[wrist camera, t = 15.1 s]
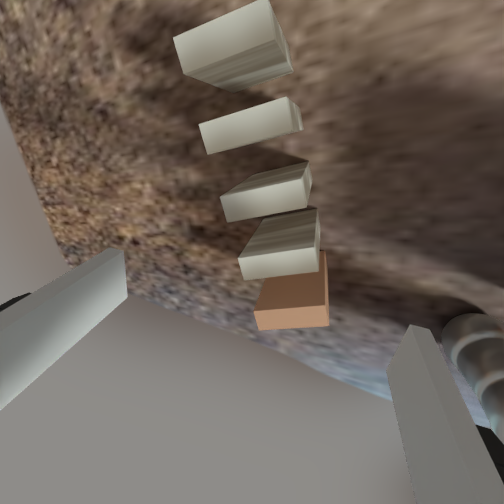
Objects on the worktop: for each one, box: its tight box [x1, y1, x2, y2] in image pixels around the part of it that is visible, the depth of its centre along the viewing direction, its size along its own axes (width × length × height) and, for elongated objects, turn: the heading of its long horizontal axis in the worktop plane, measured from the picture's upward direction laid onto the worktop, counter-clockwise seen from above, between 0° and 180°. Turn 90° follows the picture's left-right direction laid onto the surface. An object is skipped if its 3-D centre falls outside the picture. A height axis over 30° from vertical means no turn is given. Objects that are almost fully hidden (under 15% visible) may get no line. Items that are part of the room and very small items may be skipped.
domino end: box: [254, 251, 329, 330], centre depth 28 cm, size 2×6×11 cm, turn 105°
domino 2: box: [199, 97, 303, 155], centre depth 23 cm, size 2×6×11 cm, turn 105°
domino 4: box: [238, 208, 320, 280], centre depth 27 cm, size 2×6×11 cm, turn 105°
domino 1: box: [173, 0, 293, 93], centre depth 22 cm, size 2×6×11 cm, turn 105°
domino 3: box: [220, 161, 312, 223], centre depth 25 cm, size 2×6×11 cm, turn 105°
